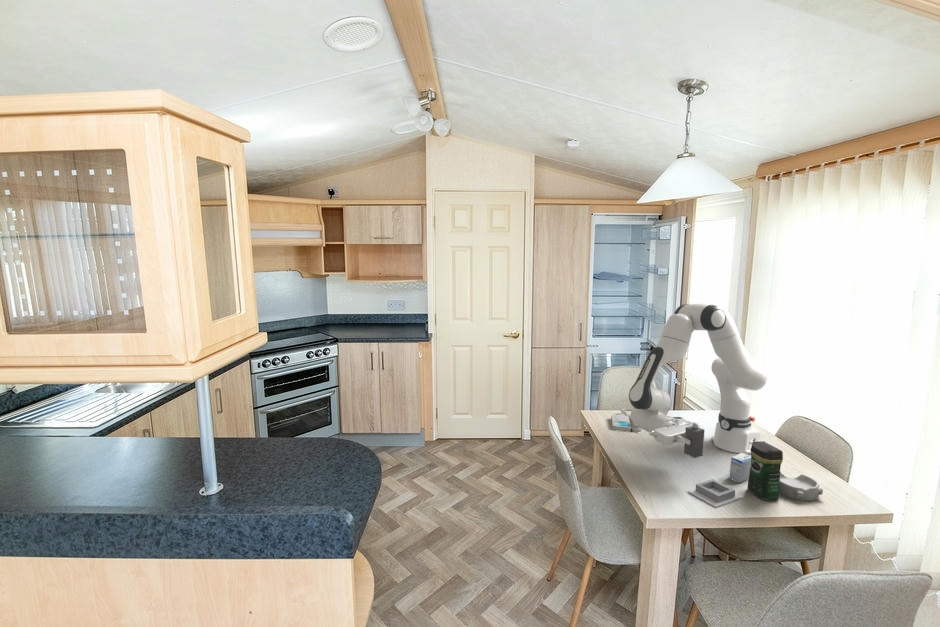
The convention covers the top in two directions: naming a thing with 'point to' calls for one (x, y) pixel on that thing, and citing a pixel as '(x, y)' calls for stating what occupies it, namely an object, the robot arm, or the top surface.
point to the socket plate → (715, 493)
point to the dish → (800, 487)
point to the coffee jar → (765, 470)
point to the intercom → (624, 422)
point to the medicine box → (740, 467)
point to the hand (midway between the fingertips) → (696, 441)
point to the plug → (694, 441)
